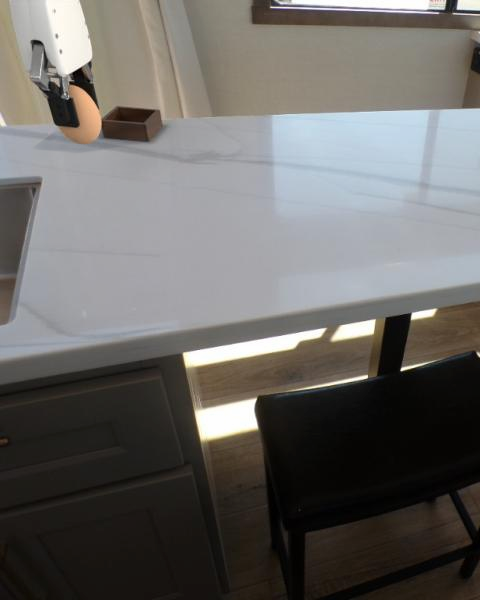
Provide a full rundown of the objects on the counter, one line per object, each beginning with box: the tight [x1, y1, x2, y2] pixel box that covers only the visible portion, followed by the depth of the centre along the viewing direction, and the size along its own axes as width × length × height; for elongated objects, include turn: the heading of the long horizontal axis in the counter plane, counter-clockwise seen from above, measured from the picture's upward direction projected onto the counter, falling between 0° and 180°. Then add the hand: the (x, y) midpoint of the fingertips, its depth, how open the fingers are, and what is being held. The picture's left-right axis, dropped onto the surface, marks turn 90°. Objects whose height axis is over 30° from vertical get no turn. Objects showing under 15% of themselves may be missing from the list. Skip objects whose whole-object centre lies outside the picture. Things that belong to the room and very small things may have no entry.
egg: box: [57, 84, 102, 145], centre depth 75 cm, size 6×6×8 cm
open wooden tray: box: [101, 105, 164, 143], centre depth 102 cm, size 8×8×3 cm
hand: (77, 116), depth 75 cm, fingers closed on egg, 5 cm apart
